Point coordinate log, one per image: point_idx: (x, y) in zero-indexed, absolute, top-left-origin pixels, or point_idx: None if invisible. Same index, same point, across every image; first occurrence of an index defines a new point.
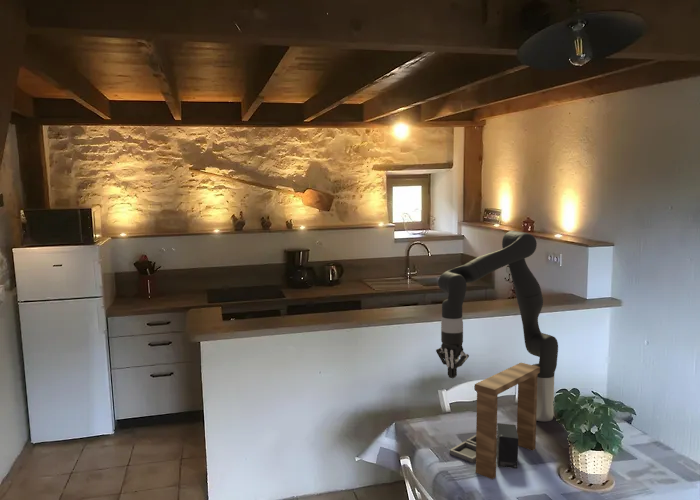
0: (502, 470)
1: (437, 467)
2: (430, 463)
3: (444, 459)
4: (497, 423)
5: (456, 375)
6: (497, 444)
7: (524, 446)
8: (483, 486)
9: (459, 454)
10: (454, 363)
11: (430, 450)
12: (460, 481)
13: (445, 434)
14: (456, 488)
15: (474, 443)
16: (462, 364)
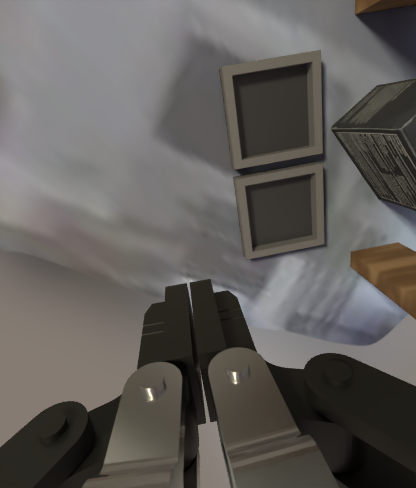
0: None
1: (270, 321)
2: None
3: (254, 284)
4: (403, 132)
5: (232, 294)
6: (389, 176)
7: (389, 7)
8: None
9: (279, 252)
10: (226, 415)
11: None
12: (345, 318)
13: (134, 171)
14: (355, 341)
15: (267, 163)
16: (392, 379)
